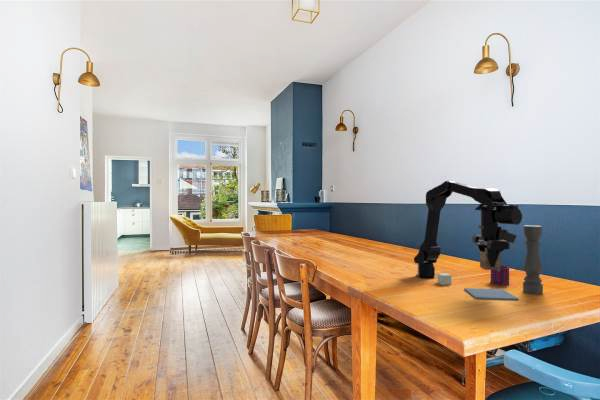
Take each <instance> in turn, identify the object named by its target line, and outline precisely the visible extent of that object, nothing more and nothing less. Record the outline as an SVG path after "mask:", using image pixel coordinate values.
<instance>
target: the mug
mask: <svg viewBox="0 0 600 400" xmlns="http://www.w3.org/2000/svg"><path fill="white" fill-rule="evenodd" d="M490 283H491V284H493V285H499V286H509V285H510V267H509V266H506V265H500V270H490Z"/></svg>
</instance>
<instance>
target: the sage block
mask: <svg viewBox="0 0 600 400" xmlns="http://www.w3.org/2000/svg"><path fill="white" fill-rule="evenodd" d="M437 284H439V285H442V286H451V285H452V275H451V274H449V273H447V272H444V273H442V272H441V273H439V272H438V273H437Z"/></svg>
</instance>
